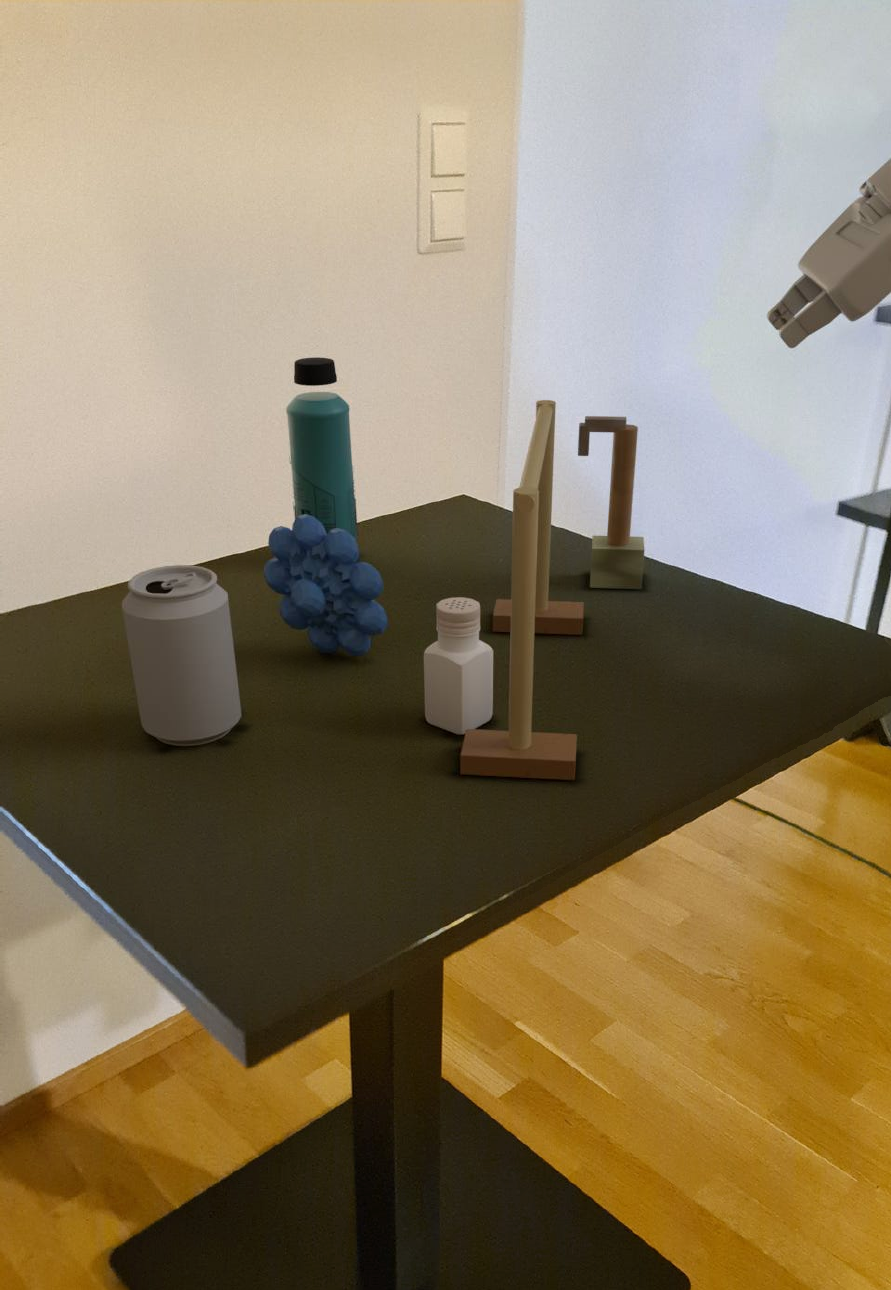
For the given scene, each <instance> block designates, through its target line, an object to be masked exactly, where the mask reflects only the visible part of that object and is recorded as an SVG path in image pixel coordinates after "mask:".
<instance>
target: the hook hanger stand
mask: <svg viewBox="0 0 891 1290" xmlns="http://www.w3.org/2000/svg"><path fill="white" fill-rule="evenodd" d="M627 421H628V420H627V416H608V415H607V416H603V415H602V416H601V415H599V416H598V415H597V416H596V415H595V416H594V415H586V416H584V422H579V424H578V443H577V456H578V457H589V456H590V455H589V454H590V434H591V433H612V434H613V435H612V451H611V468H610V469H611V470H610V484H609V500H608V501H609V502H608V516H607V529H606V530H607V531H606V532H607V533H606V535H592V539H591V558H590V573H589V574H590V575H589V576H590V577H589V578H590V579H589V588H591V589H615V590H616V589H618V590H642V587H643V585H642V584H643V574H644V563H645V551H646V550H645V539H644V536H631V527H632V515H633V500H634V487H635V473H636V459H637V446H638V433H639V427H638V426H637V425H634V424H630V423H629V424H627Z"/></svg>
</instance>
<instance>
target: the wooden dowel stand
mask: <svg viewBox="0 0 891 1290" xmlns="http://www.w3.org/2000/svg"><path fill="white" fill-rule="evenodd" d="M556 405H557V403H556V401H555V400H550V399H540V400H536V402H535V421H534V425H533V429H532V432H531V433H532V434H531V437H530V442H529V445H528V449H527V453H526V458H525V460H524V461H525V462H524V466H523V470H522V475H521V478H520V482H519V485H518V486H519V487H517V488H514V489H513V491H512V533H511V536H512V537H511V539H512V540H511V542H512V543H511V583H510V584H511V585H510V587H511V588H510V589H511V590H510V591H511V592H510V599H504V598H503V599H502V598H497V599H496V601H495V606H494V608H493V609H494V610H493V615H492V632H493V633H510V635H509V636H510V640H509V686H508V689H509V690H508V693H509V694H508V730H497V729H496V730H495V729H493V730H492V729H477V728H475V729H467V730H466V733H465V734H464V737H463V742H462V746H461V751H460V755H459V761H460V763H459V764H460V765H459V767H460V769H459V774H460V775H465V776H482V777H484V776H485V777H502V778H503V777H504V778H523V779H541V780H559V781H575V779H576V764H577V763H576V762H577V743H578V735H577V734H575V733H557V732H553V733H552V732H537V731H536V732H535V731H532V723H533V694H534V693H533V691H534V690H533V689H534V657H535V634H542V635H543V634H546V635H547V634H548V635H570V636H572V635H573V636H574V635H575V636H582V635H583V631H584V630H583V629H584V613H585V612H584V611H585V610H584V609H585V602H584V601H564V600H563V601H562V600H561V601H559V600H549V593H550V592H549V589H550V565H551V564H550V563H551V560H550V559H551V542H552V541H551V540H552V539H551V535H552V514H553V513H552V509H553V486H554V485H553V483H554V459H555V458H554V456H555V432H556V407H557V406H556Z"/></svg>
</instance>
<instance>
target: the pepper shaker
mask: <svg viewBox="0 0 891 1290" xmlns="http://www.w3.org/2000/svg"><path fill="white" fill-rule="evenodd" d="M435 612H436V627H435V628H436V631H437V640H436V641H434V642H433V643H431V644H430V645H429V646H427V647H426V648H425V650H424V651H423V682H424V687H423V688H424V717H425V720H426V723H428V724H430V725H433V726H435V727H437V728H441V729H443V730H446V731H448V732H451V733H452V734H456V735H465V733H466V730H467V729H477V728H479V727H481V726H483V725H484V724H486V723H488V722H489V721H490V720H491V719H492V717H493V714H494V712H493V711H494V710H493V709H494V703H493V702H494V649H493V648H492V647H491V646H490V645H489V644H488V643H486V642H484V641H483V640H481V639H480V631H481V605H480V602H479V601H477V600H475V599H473V598H468V597H462V596H458V597H457V596H456V597H448V598H444V599H440V601H438V602H437V603H436V609H435Z"/></svg>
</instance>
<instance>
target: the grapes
mask: <svg viewBox="0 0 891 1290" xmlns="http://www.w3.org/2000/svg"><path fill="white" fill-rule="evenodd" d="M294 520H295V519H294ZM267 543H268V545H267V546H268V548H269V551H270V553H271V554H272V556H273V557H272V558H269V559H268V561H267V562H266V563H265V564H264V566H263V577H264V580H265V582H266V584H267V586H268V587H269V588H270V589H271V590H272V591H274V592H275V593H276V594H279V595H283V597H282V598H281V600H280V601H279V609H278V611H279V614H280V617H281V618H282V620H283V622H284V623H285V624H286V625H288V627H290V628H292V629H294V630H298V631H302V630H304V629H307V637H308V640H309V642H310V644H311V645H312V647H314V648H315V649H316V650H317V651H318V652H320V653H322V654H326V655H330V654H333V653H336V652H337V651H338V650H339V648H341V649H342V650H343V651H344V652H345V653H347V654H348V655H349V656H353V657H362V656H365V655H366V654H367V653H368V651H369V650H370V648H371V641H372V639H371V636H372V637H377V636H378V635H382V634H383V633H384V632H385V630H386V629H387V628H388V616H387V613H386V611H385V609H384V607H383V606H382V605H381V604H380V603H379V602H377V601H376V599H378V598H379V597H380V595H381V594H382V593H383V591H384V581H383V579H382V576H381V573H380V571H379V570H378V569H376V568H375V567H374V565H372V564H371V563H368V562H366V561H365V562H364V561H359V562H357V561H358V560H359V558H360V548H359V546H358V543H357V541H356V540H355V538H354V537H353V536H352V535H350V534H349V533H348V532H347V531H346V530H343V529H339V528H336V529H333V530H330V531H329V532H328V534H326V531H325V529H324V527H323V524H322V523H321V522H319V521H318V520H317V519H316V518H315V517H313V516H310V515H307V514H304V515H300V516H298V517H297V518H296V520H295V521H293V523H292V526H291V528H289V527H286V526H282V525H280V526H277V527H274V528H273V529H272V530H271V532H270V533H269V535H268V541H267Z"/></svg>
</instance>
